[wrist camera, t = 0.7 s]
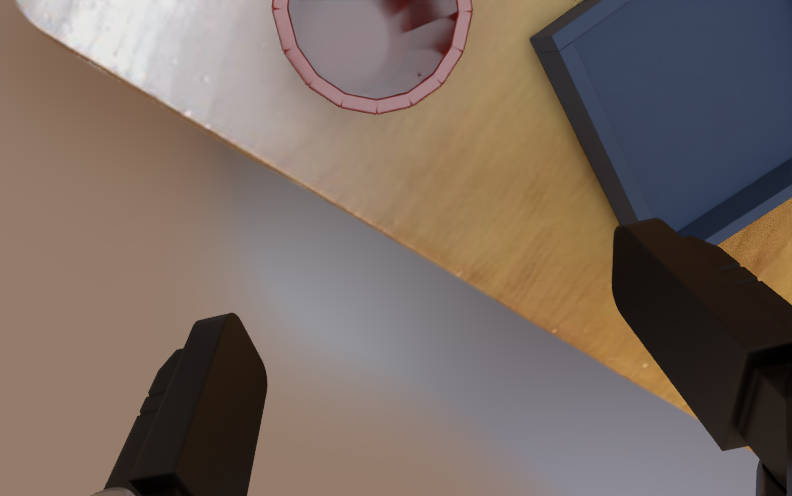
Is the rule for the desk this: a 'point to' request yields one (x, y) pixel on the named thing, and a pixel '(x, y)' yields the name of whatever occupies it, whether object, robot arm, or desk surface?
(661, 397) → the desk surface
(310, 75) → the red cup
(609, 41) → the blue tray
